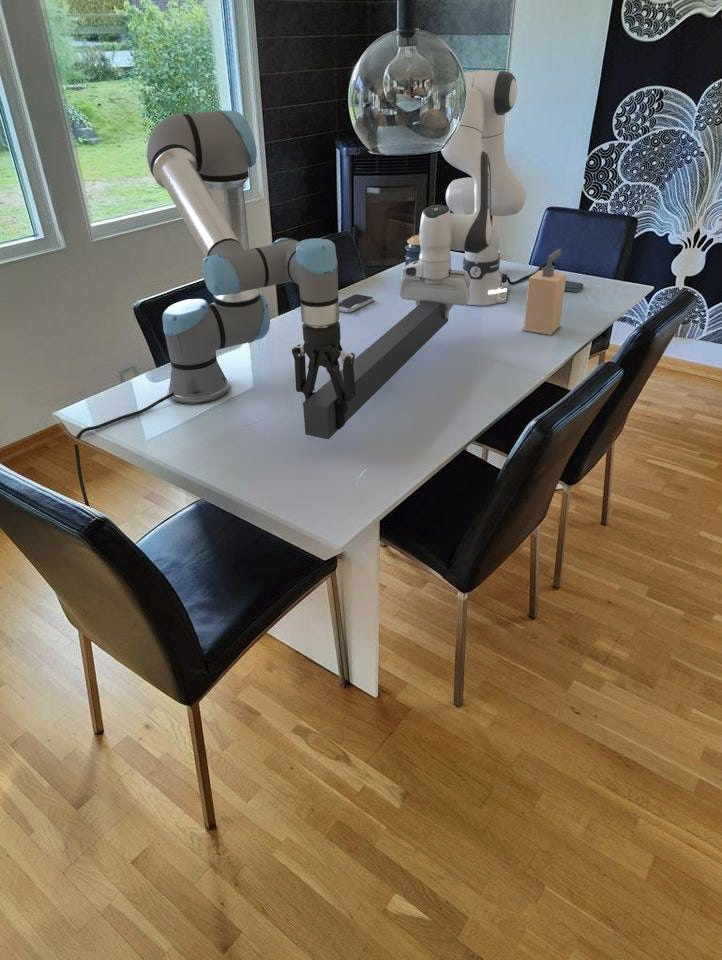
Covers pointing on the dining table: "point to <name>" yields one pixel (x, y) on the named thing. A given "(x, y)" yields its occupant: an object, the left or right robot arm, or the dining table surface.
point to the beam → (375, 367)
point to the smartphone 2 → (573, 286)
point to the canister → (412, 250)
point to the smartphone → (354, 302)
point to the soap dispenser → (545, 299)
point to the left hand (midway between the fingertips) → (327, 423)
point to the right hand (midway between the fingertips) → (433, 316)
